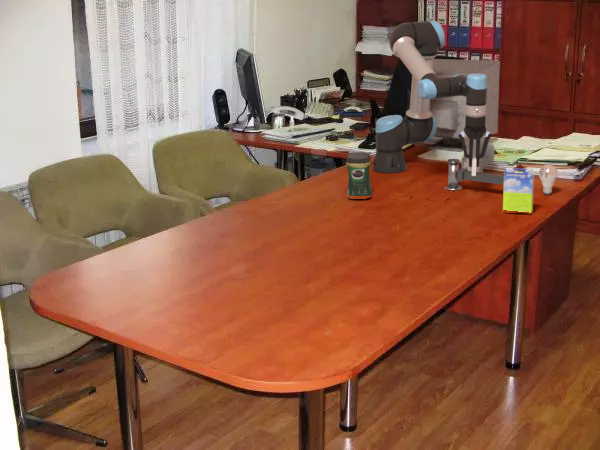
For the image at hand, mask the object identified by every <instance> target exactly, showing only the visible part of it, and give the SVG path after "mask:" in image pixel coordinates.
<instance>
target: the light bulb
mask: <svg viewBox="0 0 600 450" xmlns="http://www.w3.org/2000/svg"><path fill="white" fill-rule="evenodd" d="M558 175H559V172H558V169H557V167H556V166H554V165H553V164H545V165H542V166H541V168H540V169H539V172H538V177H539V179H540V180H541V183H542V186H543V188H542V192H543V194H545V195H547V196H548V195H549V196H550V194H551V193H553V186H554V183H555V181H556V180H557V178H558Z"/></svg>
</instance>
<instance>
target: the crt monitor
mask: <svg viewBox="0 0 600 450" xmlns="http://www.w3.org/2000/svg"><path fill="white" fill-rule="evenodd" d="M500 62H501V61H500V60H484V59H482V60H481V59H479V60H478V59H452V58H451V59H449V58H448V59H447V58H446V59H445V58H434V63H433V71H434V73H435V74H436V75H437V76H438V78H446V77H453V76H455V75H457V74H461V75H462V74H463V75H466V76H468V75H469V74H484V75H486V76H487V97H486V114H485V117H486V122H485V127H486V130H487V131H488V132H491V134H492V135H495V134H498V130H499V103H500V102H499V97H500V73H501V72H500V70H501V69H500V67H501V63H500ZM429 110H430V112H431V113H432V116H434V118H435V120H436V126H437V127H436V133H435V136H434V137H433V138H440V139H439V140H437V141H436V142H434V143H433V144H431V145H430V146H428V147H427V149H429V150H434V151H435V150H436V151H447V152H459V153H462V152H463V147H462V143H461V139H460V138H459V136H458V133H461V132H463V131H464V128H465V118H466V116H467V115H466V97H465V96H454V97H443V98H435V99H430V108H429ZM464 135H466V134H464ZM485 137H486V136H485V134H484V135H483V138H485Z"/></svg>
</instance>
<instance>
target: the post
mask: <svg viewBox="0 0 600 450" xmlns="http://www.w3.org/2000/svg"><path fill="white" fill-rule="evenodd" d="M460 161H461V160H460V159H458V158H449V159H447V164H448V169H447V170H448V173H447V174H448V175H447V176H448V177H447V178H448V179H447V180H448V181H447V183H448V184H447V185H445V186H444V190H445V189H448V190H460V189H462V190H463V186H462V185H459V181H458V171H459V170H460V168H459V167H460V163H461V162H460Z"/></svg>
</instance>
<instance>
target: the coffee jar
mask: <svg viewBox="0 0 600 450" xmlns="http://www.w3.org/2000/svg"><path fill="white" fill-rule="evenodd" d="M371 161H372V160H371V156H370V152H369V151H368V152H367V151H366V152H365V151H363V152H362V151H361V152H358V151H356V152H348V153H347V155H346V167H347V170H348V171H347V172H348V174H347V175H348V178H347V179H348V180H347V196H348V195H350V196H370V195H372V194H373V191H372V184H371V175H370V168H371V167H370V166H371V165H372V162H371ZM372 196H373V195H372Z"/></svg>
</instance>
